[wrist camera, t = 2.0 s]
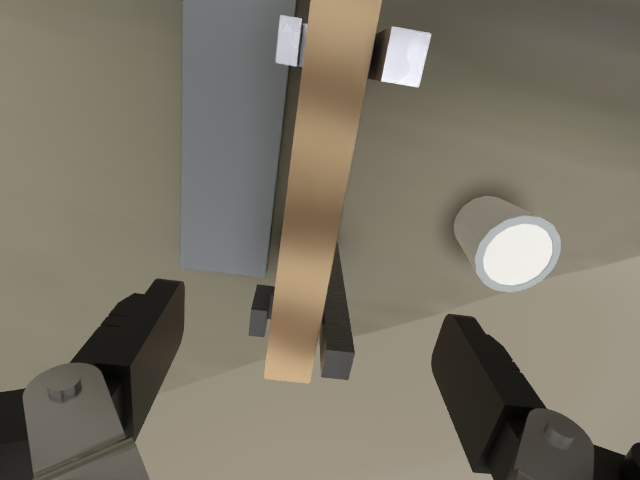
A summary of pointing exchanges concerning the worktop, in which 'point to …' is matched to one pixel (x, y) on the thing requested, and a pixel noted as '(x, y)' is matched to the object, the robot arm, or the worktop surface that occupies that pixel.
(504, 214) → the beige white-topped cylinder
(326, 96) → the oak rail
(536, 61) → the worktop surface
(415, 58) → the charcoal rack
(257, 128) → the slate mat
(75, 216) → the worktop surface
